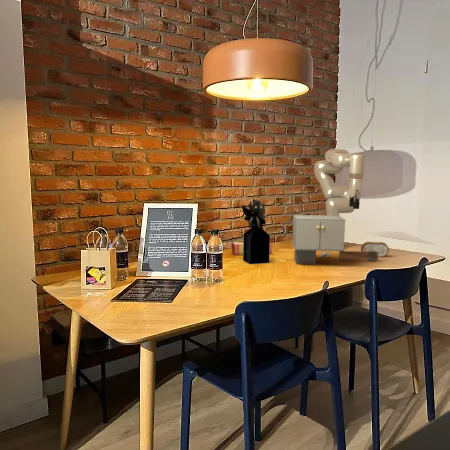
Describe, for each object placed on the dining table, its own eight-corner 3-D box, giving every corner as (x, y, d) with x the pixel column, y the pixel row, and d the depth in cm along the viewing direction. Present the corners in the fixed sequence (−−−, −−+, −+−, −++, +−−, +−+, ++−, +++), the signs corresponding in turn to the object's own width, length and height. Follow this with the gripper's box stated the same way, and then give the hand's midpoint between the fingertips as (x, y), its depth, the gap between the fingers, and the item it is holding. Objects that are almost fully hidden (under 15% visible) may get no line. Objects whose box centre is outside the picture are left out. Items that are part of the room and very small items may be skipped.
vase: (245, 265, 219) (246, 196, 215) (237, 260, 230) (238, 194, 226) (271, 263, 224) (272, 196, 219) (262, 259, 235) (264, 194, 230)
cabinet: (292, 258, 237) (293, 215, 234) (336, 259, 235) (338, 215, 232) (295, 266, 218) (296, 219, 215) (343, 267, 216) (345, 219, 213)
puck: (318, 256, 243) (318, 252, 243) (325, 255, 246) (325, 251, 245) (324, 258, 239) (324, 253, 239) (331, 257, 241) (331, 252, 241)
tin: (387, 256, 245) (388, 242, 244) (389, 257, 242) (389, 242, 241) (360, 255, 247) (361, 241, 246) (361, 257, 244) (362, 242, 243)
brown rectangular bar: (339, 260, 234) (339, 250, 234) (376, 260, 233) (377, 251, 232) (339, 261, 232) (340, 251, 231) (377, 261, 231) (378, 252, 230)
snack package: (268, 252, 255) (268, 240, 254) (272, 254, 248) (272, 242, 248) (231, 253, 250) (231, 241, 249) (234, 256, 244) (234, 243, 243)
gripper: (345, 175, 247) (344, 205, 250) (352, 177, 230) (350, 209, 233) (359, 176, 247) (357, 205, 249) (367, 178, 230) (364, 210, 232)
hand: (354, 207), depth 241 cm, fingers open, 9 cm apart
